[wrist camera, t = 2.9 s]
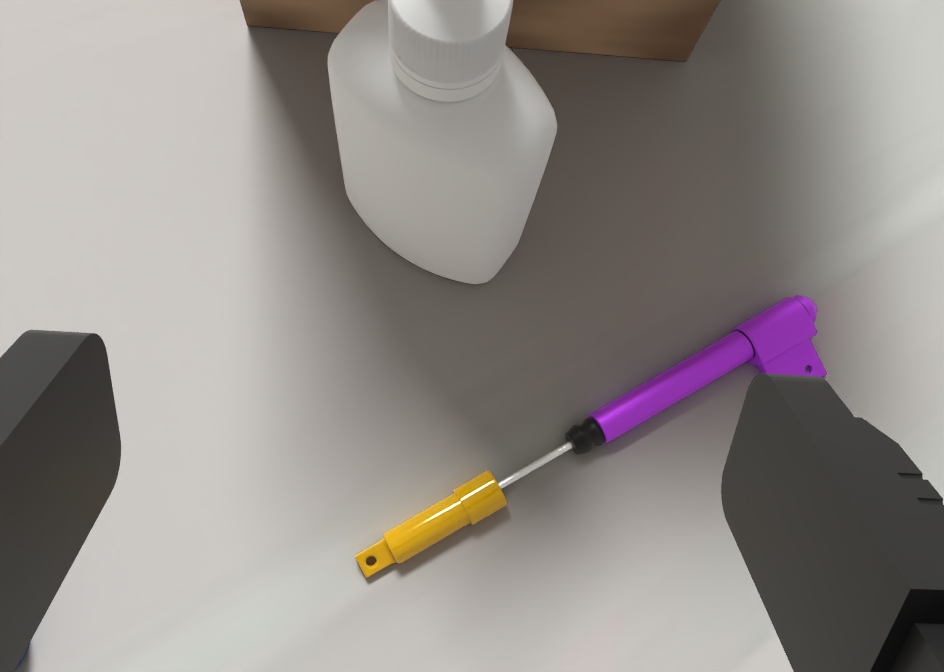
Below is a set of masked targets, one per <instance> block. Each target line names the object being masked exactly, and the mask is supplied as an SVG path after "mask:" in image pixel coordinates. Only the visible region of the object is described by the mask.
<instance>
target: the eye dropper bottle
mask: <svg viewBox="0 0 944 672" xmlns="http://www.w3.org/2000/svg"><path fill="white" fill-rule="evenodd" d="M512 7H513V0H375V1H373V2H371V3H369V4H367V5H365V6H364V7H363V8H362V9H361V10H360V11H359V12H358V13H357V14H356V15H355V16H354V17H353V18H352V19H351V20H350V21H349V22H348V24H347V25H346V26H345V27H344V28H343V29H342V31H341V32H340V33H339V34H338V36H337V37H336V38H335V40H334V41H333V44H332V46H331V49H330V51H329V54H328V63H327V64H328V73H329V82H330V91H331V98H332V105H333V112H334V119H335V125H336V132H337V139H338V145H339V152H340V158H341V165H342V171H343V178H344V184H345V189H346V194H347V196H348V198H349V200H350V202H351V204H352V205H353V207H354V209H355V210H356V212H357V213H358V214H359V216H360V217H361V218H362V220H363V221H364V222H365V224H366V225H367V226H368V227H369V228H370V229H371V230H372V232H373V233H374V234H375V235H376V236H377V237H378V238H379V239H380V240H381V241H383V242H384V243H385V244H386V245H387V246H388V247H389V248H391V249H392V250H393V251H395V252H396V253H397V254H399V255H400V256H402V257H403V258H405V259H406V260H408V261H409V262H411V263H413V264H415V265H417V266H419V267H421V268H423V269H425V270H427V271H429V272H432V273H434V274H437V275H439V276H442V277H445V278H448V279H452V280H455V281H459V282H464V283H470V284H481V283H486V282H488V281H489V280H490V279H492V278H493V277H494V276H495V275H496V274H497V273H498V271H499V270H500V269H501V267H502V266H503V265H504V263H505V262H506V261H507V259H508V258H509V257H510V255H511V254H512V252H513V251H514V249H515V248H516V246H517V245H518V243H519V240H520V237H521V235H522V232H523V229H524V227H525V224H526V221H527V218H528V216H529V213H530V210H531V207H532V205H533V202H534V199H535V196H536V193H537V191H538V188H539V185H540V182H541V179H542V176H543V174H544V171H545V168H546V165H547V162H548V159H549V156H550V153H551V149H552V146H553V143H554V140H555V137H556V133H557V121H556V117H555V112H554V109H553V108H552V106H551V104H550V102H549V100H548V98H547V96H546V95H545V93H544V92H543V90H542V88H541V87H540V85H539V84H538V82H537V81H536V80H535V78H534V77H533V75H532V74H531V73H530V71H529V70H528V69H527V68H526V67H525V65H524V64H523V63H522V62H521V61H520V59H519V58H518V57H517V56H516V55H515V54H514V53H513V52H512V51H511V50H510V49H509V48H508V47H507V46H506V45H505V43H506V38H507V33H508V27H509V22H510V17H511V12H512Z"/></svg>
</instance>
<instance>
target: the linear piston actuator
mask: <svg viewBox="0 0 944 672" xmlns="http://www.w3.org/2000/svg"><path fill="white" fill-rule="evenodd" d="M816 314H817V307H816V305H815V303H814V302H813V301H812V300H811V299H810V298H807V297H803V296H799V295H797V296H795V297H793V298H785V299H784V300H782V301H780V302H778V303H777V304H775V305H773V306H771V307H770V308H768V309H766V310H765V311H763V312H761V313H759V314H758V315H756V316H754V317H752V318H751V319H749V320H747V321H745V322H744V323H742V324H740V325H738V326H737V327H735V328H733V330H732V333H730V334H728V335H727V336H725V337H723V338H721V339H720V340H718V341H716V342H715V343H713V344H711V345H709V346H708V347H706V348H704V349H702V350H701V351H699V352H697V353H695V354H694V355H692V356H690V357H688V358H687V359H685V360H683V361H681V362H680V363H678V364H676V365H675V366H673V367H671V368H669V369H668V370H666V371H664V372H662V373H661V374H659V375H657V376H655V377H654V378H652V379H650V380H648V381H647V382H645V383H643V384H641V385H640V386H638V387H636V388H635V389H633V390H631V391H629V392H628V393H626V394H624V395H622V396H621V397H619V398H617V399H615V400H614V401H612V402H610V403H608V404H607V405H605V406H603V407H601V408H600V409H598V410H596V411H594V412H593V413H591V414H589V417H588V418H587V419H585V420H584V422H583V423H582V425H575V426H573V427H572V428H571V429H570V430H569V431H568V432H567V433H566V440H567V441H568V442H567V443H566V444H564V445H562V446H560V447H559V448H557V449H555V450H553V451H552V452H550V453H548V454H547V455H545V456H543V457H541V458H540V459H538V460H536V461H534V462H533V463H531V464H529V465H528V466H526V467H524V468H522V469H521V470H519V471H517V472H515V473H514V474H512V475H510V476H509V477H507V478H505V479H503V480H502V481H500V482H498V483H497V481H496V480H495V478H494V477H493V475H492V474H491V473H490V472H489V471H488V470H487V471H485V472H483V473H481V474H480V475H478V476H476V477H474V478H473V479H471V480H469V481H467V482H466V483H464V484H462V485H460V486H459V487H457V488H455V489H454V490H453V494H451V495H450V496H448V497H446V498H444V499H443V500H441V501H439V502H437V503H436V504H434V505H432V506H430V507H429V508H427V509H425V510H423V511H422V512H420V513H418V514H416V515H415V516H413V517H411V518H410V519H408V520H406V521H404V522H403V523H401V524H399V525H397V526H396V527H394V528H392V529H390V530H389V531H387V532H385V533H384V534H383V538H382V539H381V540H380V541H379V542H377V543H375V544H374V545H372V546H370V547H368V548H367V549H365V550H363V551H361V552H360V553H358V554H356V555H355V558H356V560H357V562H358V564H359V566H360V567H361V569H362V571H363V573H364V575H365V577H366V578H368V577H369V576H371V575H373V574H374V573H376V572H378V571H380V570H381V569H383V568H385V567H386V566H388V565H390V564H392V563H396V562H397V563H399V564H401V563H402V562H404V561H406V560H408V559H409V558H411V557H413V556H414V555H416V554H418V553H419V552H421V551H423V550H425V549H426V548H428V547H430V546H431V545H433V544H435V543H437V542H438V541H440V540H442V539H443V538H445V537H447V536H448V535H450V534H452V533H454V532H455V531H457V530H459V529H460V528H462V527H464V526H466V525H467V524H469V523H471V524H472V525H474V524H475V523H477V522H479V521H481V520H482V519H484V518H486V517H487V516H489V515H491V514H493V513H494V512H496V511H498V510H499V509H501V508H503V507H504V506H506V505H507V501H506V498H505V496H504V494H503V492H502V490H501V489H503V488H505V487H506V486H508V485H510V484H511V483H513V482H515V481H517V480H518V479H520V478H522V477H523V476H525V475H527V474H529V473H530V472H532V471H534V470H536V469H537V468H539V467H541V466H542V465H544V464H546V463H548V462H549V461H551V460H553V459H554V458H556V457H558V456H560V455H561V454H563V453H565V452H566V451H568V450H570V449H572V450H573V451H574V452H575V453H576V454H581V453H586V452H589V451H590V450H591V448H592V447H593V445H601V444H602V443H606V444H607V443H608V442H610V441H612V440H613V439H615V438H617V437H619V436H620V435H622V434H624V433H625V432H627V431H629V430H631V429H632V428H634V427H636V426H637V425H639V424H641V423H642V422H644V421H646V420H648V419H649V418H651V417H653V416H654V415H656V414H658V413H660V412H661V411H663V410H665V409H666V408H668V407H670V406H671V405H673V404H675V403H677V402H678V401H680V400H682V399H683V398H685V397H687V396H689V395H690V394H692V393H694V392H695V391H697V390H699V389H700V388H702V387H704V386H706V385H707V384H709V383H711V382H712V381H714V380H716V379H718V378H719V377H721V376H723V375H724V374H726V373H728V372H729V371H731V370H733V369H735V368H736V367H738V366H740V365H741V364H743V363H745V362H747V361H749V362H750V364H752V365H757V367H758V368H759V370H760V371H761V373H767V374H784V375H802V376H818V377H823V376H825V375H826V374H827V373H826V371H825V369H824V367H823V365H822V363H821V361H820V359H819V357H818V355H817V353H816V351H815V349H814V347H813V345H812V343H811V341H810V339H809V338H811V337H813V336H814V335H816V333H817V330H816V328H815V326H814V324H813V322H814V321H815V319H816ZM806 366H808V367H809V368H810V372H809V373H807V372H806V370H805V368H806ZM370 556H373V557H375V558H376V562H375V564H374V565H371V566H370V565H368V564H367V563H366V559H367V558H368V557H370Z"/></svg>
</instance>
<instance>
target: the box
mask: <svg viewBox="0 0 944 672" xmlns="http://www.w3.org/2000/svg"><path fill="white" fill-rule="evenodd" d="M373 1H375V0H240V3H241V6H242V10H243V13H244V17H245V20H246V23H247V25H248V26H261V27H273V28H285V29H297V30H309V31H322V32H334V33H340V32H341V31H342V29H343V28H344V27H345V26H346V25H347V24H348V22H349V21H350V20H351V19H352V18H353V17H354V16H355V15H356V14H357V13H358V12H359V11H360V10H361V9H362V8H363V7H364V6H365V5H367V4H369V3H371V2H373ZM719 2H720V0H513V7H512V12H511V17H510V22H509V27H508V33H507V38H506V43H505V45H506V46H507V47H516V48H529V49H541V50H553V51H565V52H577V53H590V54H602V55H614V56H626V57H638V58H651V59H663V60H675V61H686V60H687V58H688V57H689V55H690V53H691V51H692V49H693V48H694V46H695V44H696V42H697V41H698V39H699V37H700V35H701V34H702V32H703V30H704V28H705V27H706V25H707V23H708V21H709V19H710V18H711V16H712V14H713V12H714V11H715V9H716V7H717V5H718V4H719Z"/></svg>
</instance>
